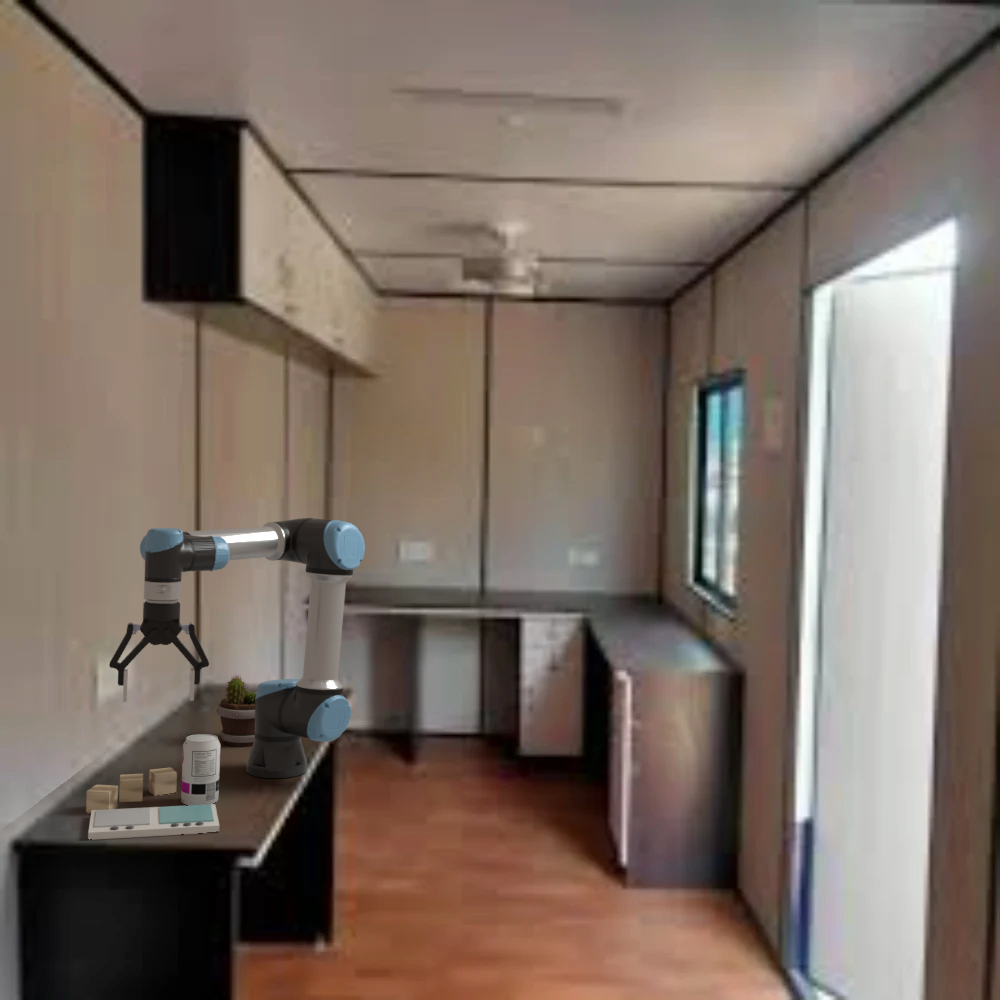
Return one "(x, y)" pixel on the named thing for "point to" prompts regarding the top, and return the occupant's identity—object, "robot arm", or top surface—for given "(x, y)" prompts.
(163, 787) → the maple block
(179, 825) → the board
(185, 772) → the supplement can
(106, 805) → the maple block
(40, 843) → the top surface
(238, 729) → the flowerpot
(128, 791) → the maple block
